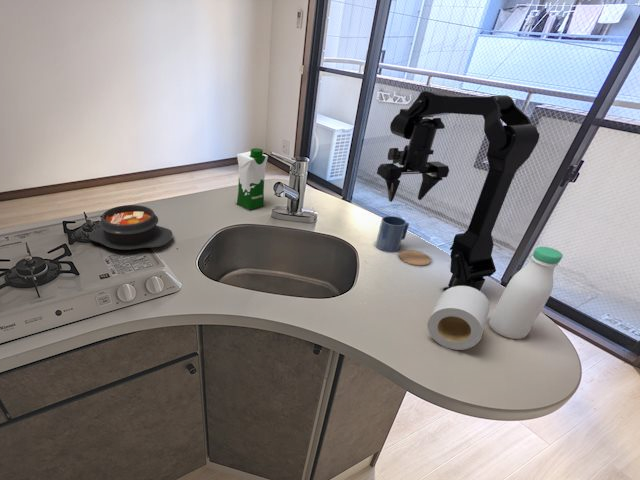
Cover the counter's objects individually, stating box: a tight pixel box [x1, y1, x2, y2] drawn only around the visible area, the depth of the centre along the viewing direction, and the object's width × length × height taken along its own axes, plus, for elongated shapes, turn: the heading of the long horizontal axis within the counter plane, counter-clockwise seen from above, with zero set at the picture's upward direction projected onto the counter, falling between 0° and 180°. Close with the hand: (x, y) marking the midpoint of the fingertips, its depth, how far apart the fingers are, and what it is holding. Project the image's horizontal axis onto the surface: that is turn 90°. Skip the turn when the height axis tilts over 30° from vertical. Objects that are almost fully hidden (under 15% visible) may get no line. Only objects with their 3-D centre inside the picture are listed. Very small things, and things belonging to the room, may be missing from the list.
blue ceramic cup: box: [375, 215, 410, 253], centre depth 118 cm, size 9×7×8 cm
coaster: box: [398, 249, 432, 267], centre depth 115 cm, size 9×9×1 cm
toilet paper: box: [427, 286, 491, 351], centre depth 84 cm, size 10×10×10 cm
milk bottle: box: [488, 246, 563, 340], centre depth 83 cm, size 8×8×20 cm
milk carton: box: [236, 147, 269, 211], centre depth 138 cm, size 9×9×20 cm
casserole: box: [88, 204, 173, 251], centre depth 117 cm, size 25×19×8 cm
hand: (404, 200), depth 113 cm, fingers open, 9 cm apart
